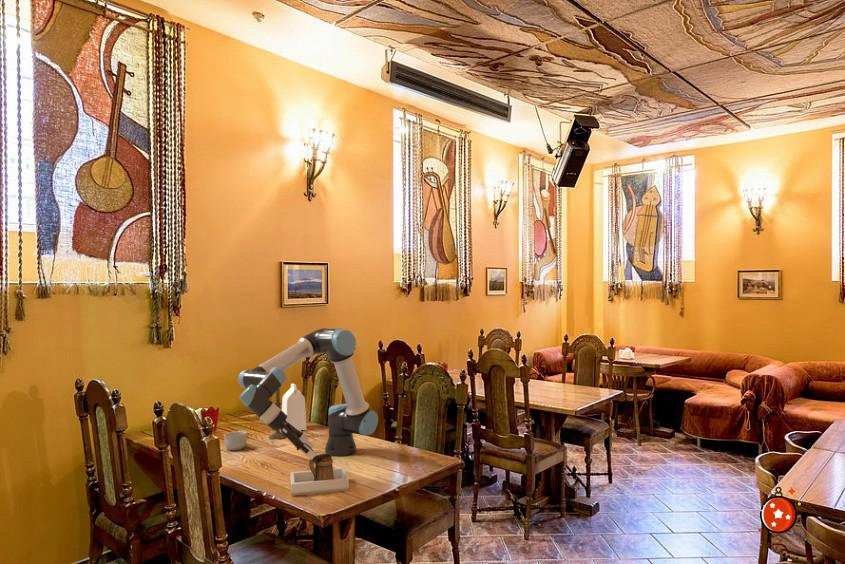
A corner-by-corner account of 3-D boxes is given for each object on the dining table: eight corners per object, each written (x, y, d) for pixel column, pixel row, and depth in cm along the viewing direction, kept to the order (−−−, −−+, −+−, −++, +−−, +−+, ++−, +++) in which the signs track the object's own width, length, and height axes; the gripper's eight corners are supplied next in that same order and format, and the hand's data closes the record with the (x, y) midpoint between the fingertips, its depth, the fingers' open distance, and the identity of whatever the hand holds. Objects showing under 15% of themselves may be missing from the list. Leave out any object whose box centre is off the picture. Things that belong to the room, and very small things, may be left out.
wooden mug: (298, 485, 222) (298, 440, 222) (328, 478, 230) (328, 434, 231) (308, 491, 215) (308, 444, 215) (339, 484, 223) (339, 439, 224)
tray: (344, 478, 233) (344, 467, 233) (348, 490, 219) (348, 478, 219) (290, 483, 228) (290, 472, 228) (291, 496, 213) (291, 484, 213)
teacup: (239, 452, 274) (239, 436, 274) (219, 451, 276) (219, 435, 276) (253, 445, 287) (253, 429, 288) (234, 444, 290) (234, 428, 290)
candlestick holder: (285, 434, 308) (284, 380, 309) (287, 438, 300) (287, 382, 300) (268, 436, 305) (268, 381, 306) (269, 440, 296) (269, 384, 297)
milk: (281, 428, 323) (281, 383, 324) (300, 426, 329) (300, 382, 330) (286, 432, 313) (286, 386, 314) (306, 430, 318) (306, 384, 319)
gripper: (267, 417, 230) (304, 451, 234) (266, 431, 206) (307, 469, 209) (280, 404, 232) (317, 437, 235) (281, 416, 207) (322, 453, 211)
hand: (312, 452), depth 222 cm, fingers open, 13 cm apart
